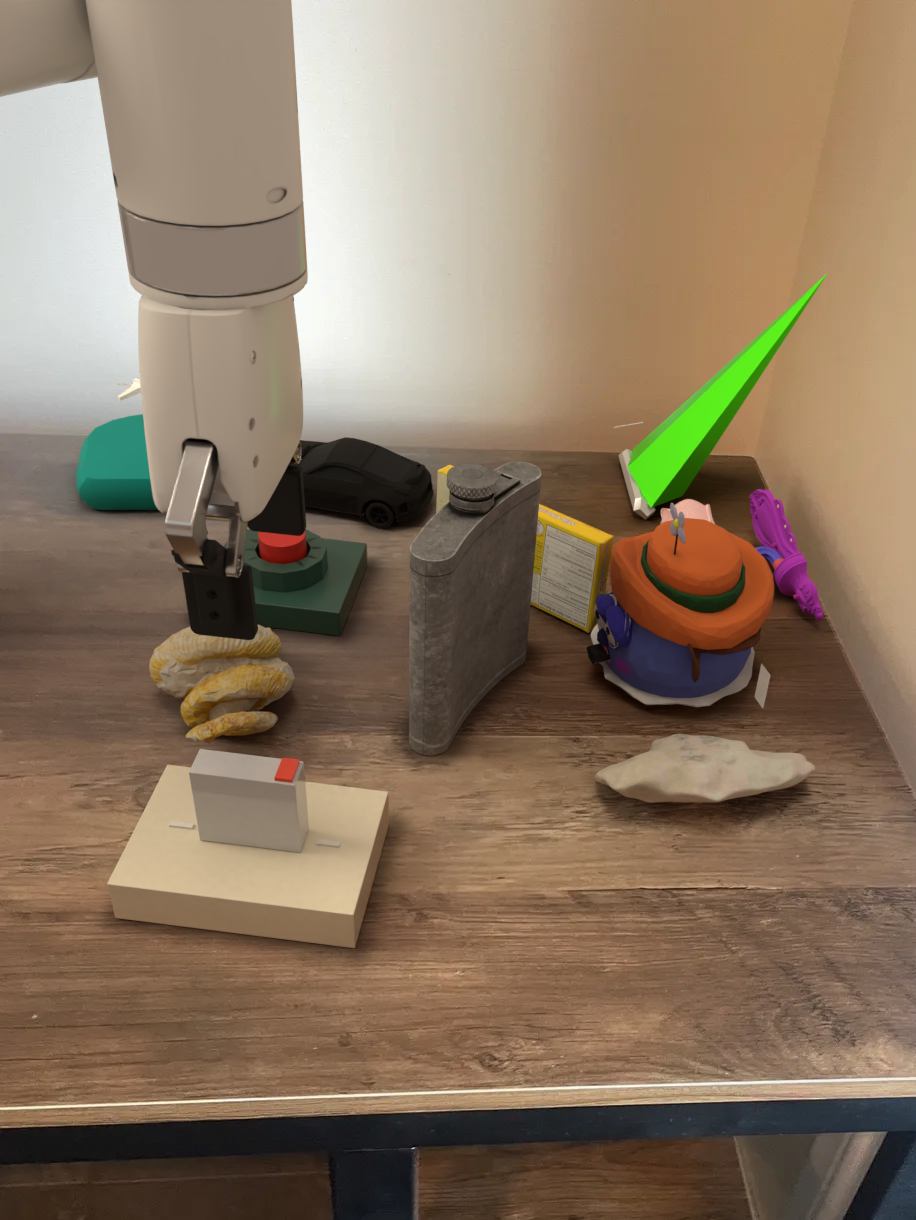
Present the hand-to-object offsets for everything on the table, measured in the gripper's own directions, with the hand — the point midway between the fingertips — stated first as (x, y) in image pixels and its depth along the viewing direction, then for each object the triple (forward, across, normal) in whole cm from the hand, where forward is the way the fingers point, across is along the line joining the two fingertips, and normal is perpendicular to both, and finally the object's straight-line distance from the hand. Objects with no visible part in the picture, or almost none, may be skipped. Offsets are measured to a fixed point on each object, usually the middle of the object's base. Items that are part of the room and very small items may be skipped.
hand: (252, 579), depth 61 cm
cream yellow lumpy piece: (+19, -12, -7) cm, 24 cm away
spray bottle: (+17, -35, -21) cm, 44 cm away
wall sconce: (+19, -23, +34) cm, 45 cm away
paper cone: (-2, -51, +36) cm, 62 cm away
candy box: (+19, -30, +12) cm, 37 cm away
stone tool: (+17, -6, +20) cm, 27 cm away
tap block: (+19, +3, 0) cm, 19 cm away
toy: (+19, -22, +24) cm, 38 cm away
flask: (+19, -16, +10) cm, 27 cm away
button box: (+19, -26, -6) cm, 33 cm away
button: (+15, -26, -6) cm, 31 cm away
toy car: (+19, -41, -5) cm, 46 cm away
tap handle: (+16, +3, 0) cm, 16 cm away
